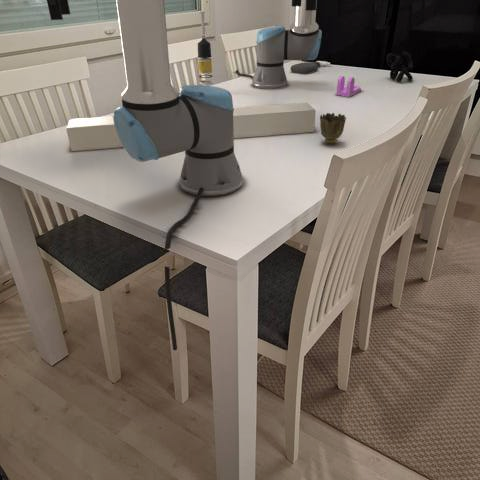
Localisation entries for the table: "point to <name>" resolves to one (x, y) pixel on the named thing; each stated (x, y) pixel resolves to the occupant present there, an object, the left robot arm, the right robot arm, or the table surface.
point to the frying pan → (307, 67)
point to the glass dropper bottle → (204, 56)
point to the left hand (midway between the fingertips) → (61, 17)
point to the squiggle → (399, 66)
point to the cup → (332, 127)
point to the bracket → (349, 89)
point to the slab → (244, 124)
